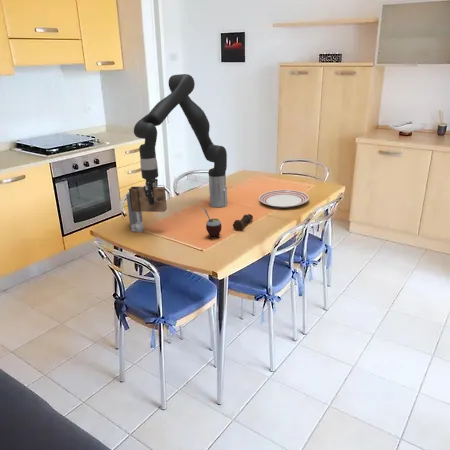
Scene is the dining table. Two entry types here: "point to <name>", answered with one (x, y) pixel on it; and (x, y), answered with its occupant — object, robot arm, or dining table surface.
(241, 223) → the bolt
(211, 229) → the mate gourd
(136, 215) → the cabinet side
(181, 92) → the robot arm
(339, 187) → the dining table surface
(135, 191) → the door
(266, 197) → the dinner plate
